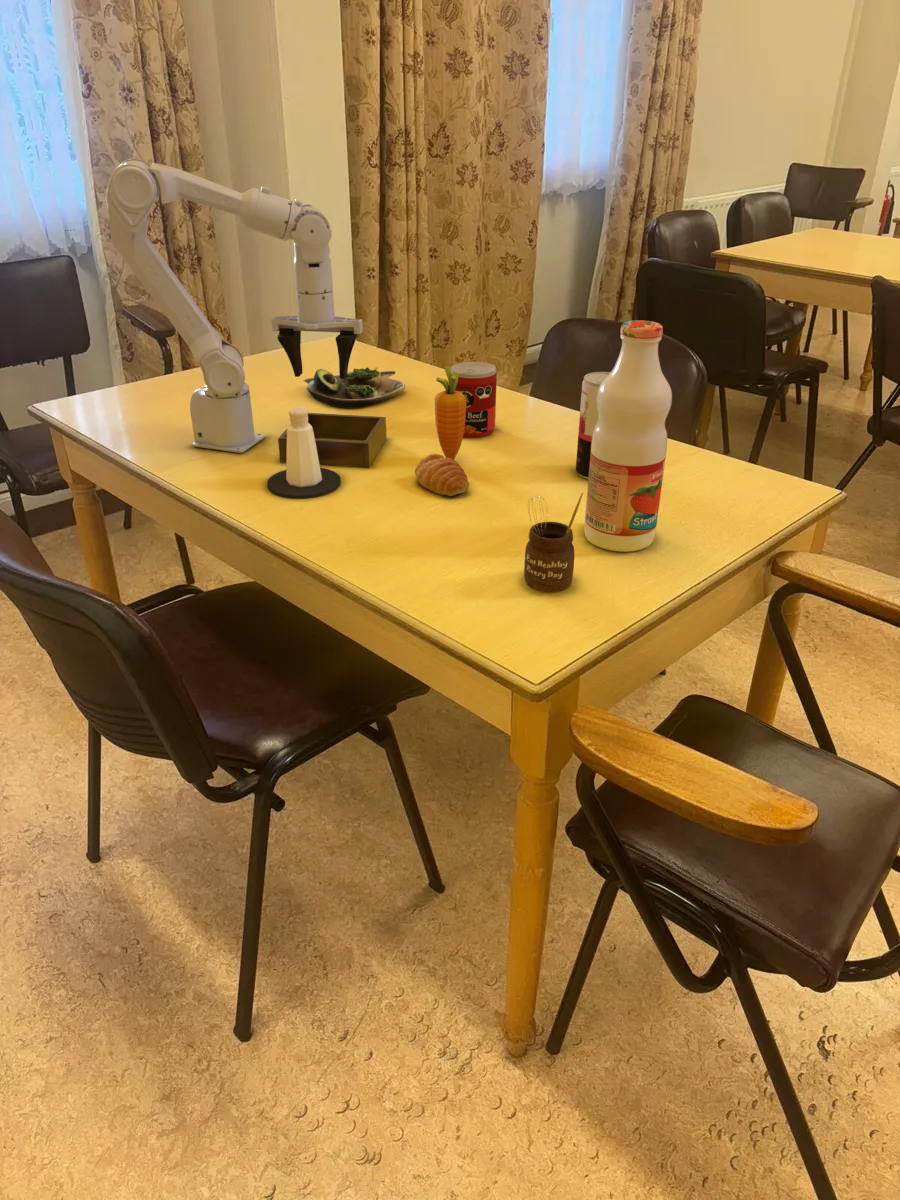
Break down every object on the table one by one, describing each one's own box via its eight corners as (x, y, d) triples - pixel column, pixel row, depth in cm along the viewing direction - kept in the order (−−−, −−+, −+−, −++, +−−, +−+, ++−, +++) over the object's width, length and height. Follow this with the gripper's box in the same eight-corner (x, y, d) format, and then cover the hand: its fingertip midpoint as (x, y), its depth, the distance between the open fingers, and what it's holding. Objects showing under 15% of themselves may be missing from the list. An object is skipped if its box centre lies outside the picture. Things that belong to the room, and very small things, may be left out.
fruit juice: (592, 517, 125) (611, 312, 111) (660, 528, 122) (688, 319, 108) (575, 546, 117) (593, 330, 103) (647, 558, 114) (676, 337, 100)
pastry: (480, 492, 132) (480, 468, 130) (441, 502, 129) (441, 478, 127) (447, 471, 139) (447, 448, 137) (409, 480, 136) (409, 457, 134)
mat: (253, 492, 132) (253, 489, 132) (288, 466, 141) (288, 463, 141) (321, 502, 129) (321, 499, 129) (352, 474, 138) (352, 471, 138)
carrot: (462, 469, 140) (463, 374, 132) (431, 466, 141) (430, 372, 133) (468, 457, 144) (469, 365, 137) (438, 455, 145) (437, 363, 138)
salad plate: (369, 371, 185) (368, 349, 183) (427, 390, 174) (427, 367, 172) (292, 391, 174) (290, 368, 171) (349, 413, 163) (348, 388, 160)
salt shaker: (308, 470, 138) (302, 401, 132) (329, 480, 135) (324, 409, 129) (278, 480, 135) (271, 409, 129) (300, 490, 131) (294, 418, 126)
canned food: (443, 435, 153) (443, 371, 148) (460, 420, 160) (461, 359, 154) (485, 441, 151) (486, 376, 145) (501, 426, 157) (503, 363, 152)
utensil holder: (528, 567, 112) (533, 478, 106) (578, 574, 111) (586, 484, 105) (518, 589, 107) (522, 498, 101) (570, 597, 106) (577, 505, 100)
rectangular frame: (280, 462, 142) (277, 438, 140) (303, 434, 153) (301, 412, 151) (369, 467, 140) (368, 443, 138) (386, 439, 151) (385, 416, 149)
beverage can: (571, 478, 137) (578, 382, 129) (580, 463, 142) (588, 369, 135) (613, 484, 135) (623, 386, 127) (621, 468, 140) (631, 374, 133)
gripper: (261, 294, 138) (271, 381, 145) (353, 297, 136) (358, 385, 143) (276, 285, 144) (284, 368, 151) (364, 287, 142) (368, 372, 149)
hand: (321, 376), depth 147 cm, fingers open, 7 cm apart
